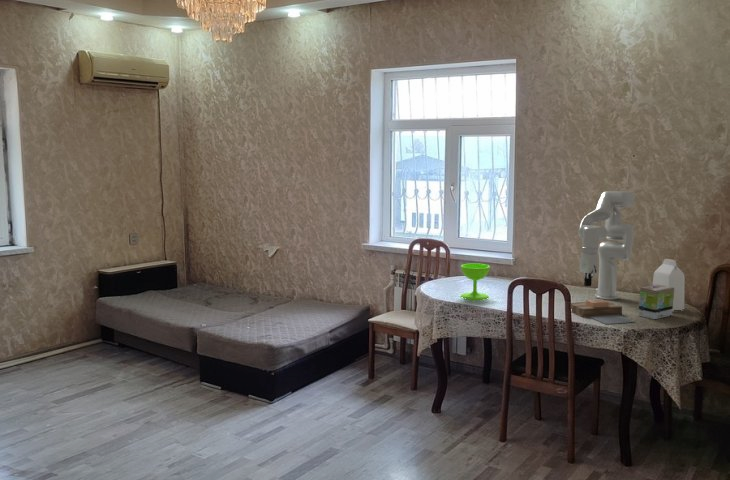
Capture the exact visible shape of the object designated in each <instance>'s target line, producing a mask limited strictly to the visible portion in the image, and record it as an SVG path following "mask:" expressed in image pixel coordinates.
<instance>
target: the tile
mask: <svg viewBox="0 0 730 480" xmlns="http://www.w3.org/2000/svg"><path fill="white" fill-rule="evenodd" d="M585 302H586V305H587V306H590V307H592V308H596V307H609V302H610V301H608V300H606V299H599V298H597V299H586V301H585Z"/></svg>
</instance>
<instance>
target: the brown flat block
mask: <svg viewBox="0 0 730 480" xmlns="http://www.w3.org/2000/svg"><path fill="white" fill-rule="evenodd" d="M608 302H609V307H596V308H592V307H590V306H587V305H586V301H581V302H580V301H579V302H578V301H577V302H570V303H571V309H572V312H571V313H573V314H575V315H577V316H579V317H582V318H590V316H605V315H620V316H622V314H623V306H621V305H619V304H615V303H613V302H611V301H608Z"/></svg>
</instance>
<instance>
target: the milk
mask: <svg viewBox="0 0 730 480" xmlns="http://www.w3.org/2000/svg"><path fill="white" fill-rule="evenodd" d="M652 277H653V278H652V285H662V286H667V287H673V288H674V298H673V310H672V312H675V311H674V310H681V311H683V310H682V309H684V310H685V287H686V286H685V281H686V279H685V277H686V276H685V273H684V272H683V271H682V270H681V269H680V267H678V265H677V261H676V260H675V259H670V258H664V259H663V262H662V263H661V265H660V266H659V267H657V269H655V271H654V272H653V275H652ZM652 285H651V286H652Z"/></svg>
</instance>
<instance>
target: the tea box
mask: <svg viewBox="0 0 730 480" xmlns="http://www.w3.org/2000/svg"><path fill="white" fill-rule="evenodd" d="M673 298H674V288H673V287H667V286H662V285H647V286H642V287H640V291H639V300H638V301H639V303H638V314H637V316H639V317H642V318H647V319H652V320H655V319H656V320H658V319H661V318H667V317H671V316H673V311H672V310H673ZM670 315H671V316H670Z"/></svg>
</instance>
